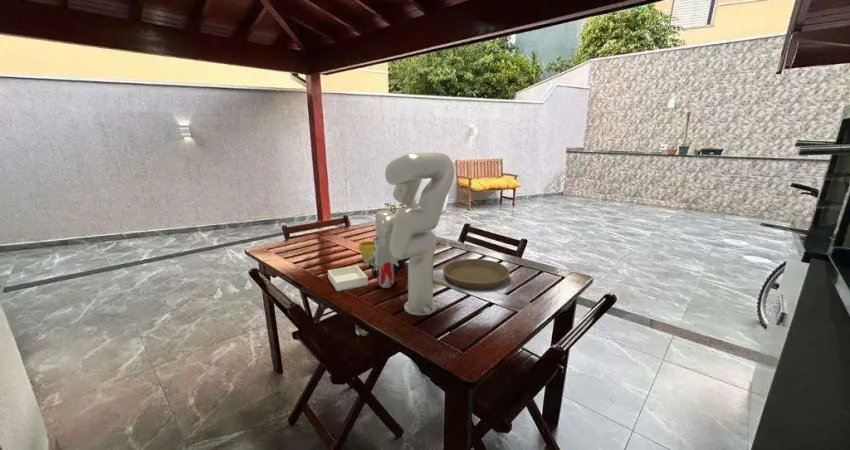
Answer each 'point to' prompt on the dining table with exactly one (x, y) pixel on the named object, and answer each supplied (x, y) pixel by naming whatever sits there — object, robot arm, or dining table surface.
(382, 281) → the soda can
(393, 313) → the dining table surface
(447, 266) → the plant saucer
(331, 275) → the tray
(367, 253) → the plant pot
